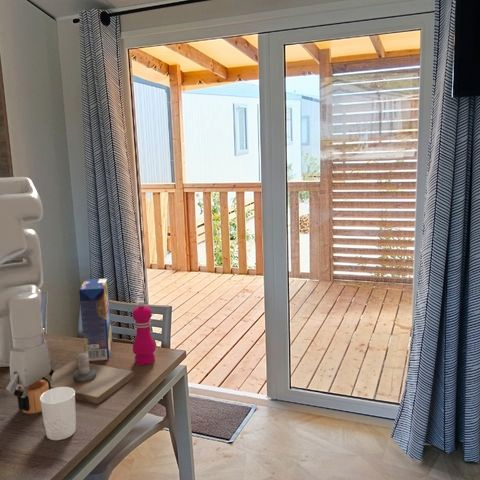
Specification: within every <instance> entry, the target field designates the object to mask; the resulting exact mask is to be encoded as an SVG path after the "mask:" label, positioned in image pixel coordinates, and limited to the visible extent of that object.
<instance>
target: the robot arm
mask: <svg viewBox="0 0 480 480" xmlns="http://www.w3.org/2000/svg"><path fill="white" fill-rule="evenodd" d="M43 215H44V208H43V203H42V200H41V197H40V195H39V193H38V190H37V188H36V186H35V185H34V182H33V181H32V179H30V178H29V177H26V176H11V177H10V176H9V177H7V176H6V177H0V368H6V367H9V378H10V379H9V380H10V381H9V383H8V384H7V386H6V387H5V388H6V389H5V390H6V391H7V392H8V393H10V394H11V395H12V396H14V397H17V404H18V405H17V406H18V409H19V410H21V411H22V410H24V411H28V410H29V409H30V407H29V398H28V396H26V394H27V390H28V386H29V385H31V384H33V383H34V382H36V381H38V380H40V379H42V380H46V381H47V382H48V386H49V390H50V389H51V386H50V382H51V381H52V378H51V377H52V375H53V373H54V372H55V369H56V366H57V362H56V361H54V360H52V359H51V356H50V350H49V347H48V344H47V341H46V339H45V333H46V330H45V328H44V324H43V323H44V322H43V314H42V303H43V294H42V293H43V292H42V291H41V289H40V288H41V287H43V284H44V271H43V261H42V249H41V243H40V238H39V235H38V233H37V232H36V230H34V229H33V228H24V224H25V223H27V224H28V223H36V222H40V221H41V220H42V218H43ZM23 259H24V260H25V261H21V262H14V263H13V262H12V263H6V262H8V261H14V260H15V261H16V260H23ZM21 387H23V390H22V392H21Z"/></svg>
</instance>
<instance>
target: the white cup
mask: <svg viewBox="0 0 480 480" xmlns="http://www.w3.org/2000/svg"><path fill="white" fill-rule="evenodd" d="M40 403H41V409H42V411H41V414H42V421H43V425H44V428H45V434H46V438H47V439H49V440H51V441H60V440H65V439H68V438H71V436H73V435H74V434H75V432H76V429H77V426H76V425H77V423H76V420H77V419H76V418H77V416H76V414H77V413H76V410H77V409H76V407H77V406H76V399H75V391H74V389H72V388H70V387H57V388H53V389H50V390H48V391H46V392H44V393H43V394H42V395H41V396H40Z"/></svg>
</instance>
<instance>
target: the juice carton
mask: <svg viewBox="0 0 480 480" xmlns="http://www.w3.org/2000/svg"><path fill="white" fill-rule="evenodd" d="M108 280H109V279H108V278H107V277H105V278H95V279H93V278H92V279H84V280H83V282H82V283H81V286H80V288H79V289H78V291H79V294H78V295H79V302H80V316H81V324H82V337H83V346H84V347H83V348H84V353H88V355H89V362H93V361H104V360H110V357H111V352H112V349H113V335H112V322H111V309H110V295H109V282H108Z"/></svg>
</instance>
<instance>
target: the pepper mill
mask: <svg viewBox="0 0 480 480" xmlns="http://www.w3.org/2000/svg"><path fill="white" fill-rule="evenodd" d="M152 315H153V312H152V309H151V307H150V306H147V305H145V302H144V301H142V300H141V301H139V302H138V306H136V307H134V309H133V310H132V319H134V327H135V328H136V336H135V339H134V341H133V344H132V352H133V354H134V355H135V356H134V362H135V364H136V365H140V366H146V365H151V364H153V363H154V362H155V361H156V360H155V359H156V358H155V351H156V349H157V347H156V342H155V340H154V339H153V336H152V334H151V330H150V326H151V324H152V323H151V318H152V317H153V316H152Z"/></svg>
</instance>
